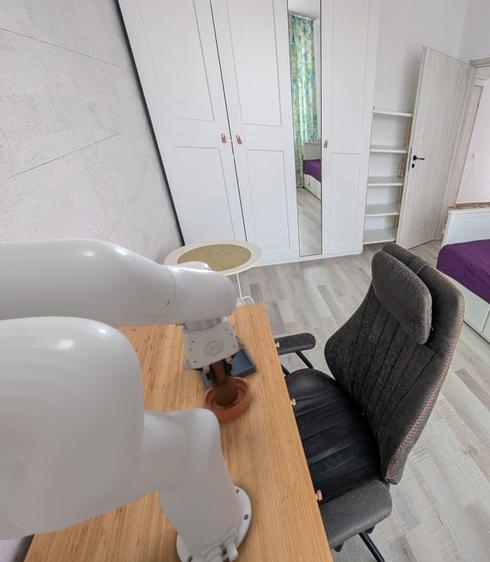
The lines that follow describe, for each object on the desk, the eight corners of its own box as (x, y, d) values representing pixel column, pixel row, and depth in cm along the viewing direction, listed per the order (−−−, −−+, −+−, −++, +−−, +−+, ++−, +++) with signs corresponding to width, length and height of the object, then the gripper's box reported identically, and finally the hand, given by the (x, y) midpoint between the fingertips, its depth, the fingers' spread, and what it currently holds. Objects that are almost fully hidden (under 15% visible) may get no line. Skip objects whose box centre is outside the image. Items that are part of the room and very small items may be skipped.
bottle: (241, 399, 74) (231, 361, 68) (218, 410, 71) (206, 372, 65) (234, 386, 78) (224, 349, 71) (213, 396, 75) (200, 358, 68)
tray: (256, 372, 86) (255, 366, 85) (209, 394, 79) (206, 387, 77) (238, 340, 97) (236, 335, 96) (194, 357, 90) (192, 351, 88)
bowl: (258, 406, 76) (255, 397, 74) (212, 431, 70) (209, 421, 68) (244, 380, 84) (241, 370, 82) (201, 399, 77) (198, 390, 75)
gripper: (160, 341, 54) (186, 403, 63) (247, 312, 64) (259, 370, 73) (155, 321, 59) (180, 382, 68) (236, 297, 69) (249, 354, 78)
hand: (220, 375), depth 70 cm, fingers closed on bottle, 3 cm apart
